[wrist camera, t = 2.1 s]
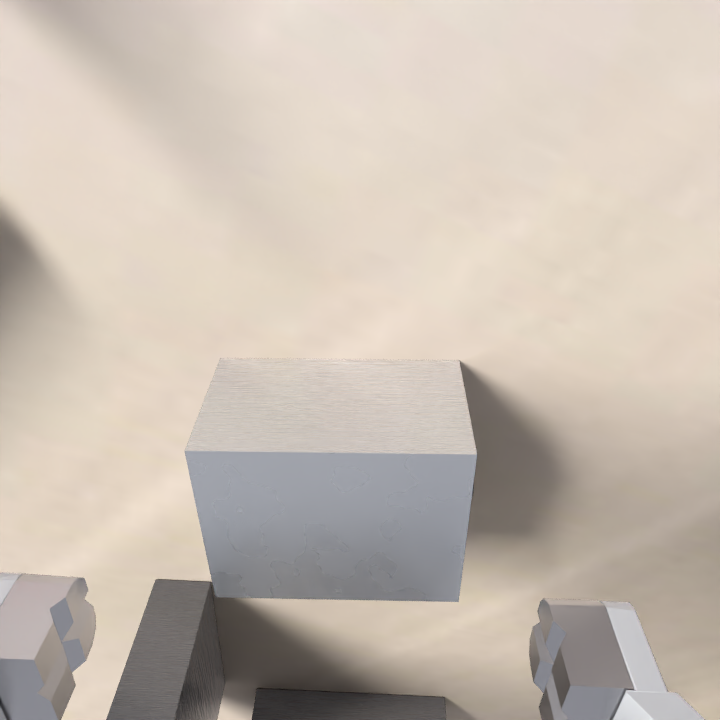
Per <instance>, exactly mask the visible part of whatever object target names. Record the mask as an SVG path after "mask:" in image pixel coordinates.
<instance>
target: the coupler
mask: <svg viewBox="0 0 720 720" xmlns="http://www.w3.org/2000/svg"><path fill="white" fill-rule="evenodd" d="M224 685H225V679H224V672H223V665H222V658H221V652H220V645H219V638H218V631H217V624H216V617H215V610H214V603H213V597H212V590H211V583H210V582H199V581H178V580H155V583H154V586H153V589H152V591H151V594H150V597H149V600H148V603H147V606H146V609H145V611H144V614H143V617H142V620H141V623H140V626H139V628H138V631H137V634H136V637H135V640H134V643H133V645H132V648H131V651H130V654H129V657H128V660H127V662H126V665H125V668H124V671H123V674H122V677H121V679H120V682H119V685H118V688H117V691H116V694H115V697H114V699H113V702H112V705H111V708H110V711H109V714H108V716H107V719H106V720H217V719H218V714H219V709H220V704H221V700H222V695H223V690H224ZM252 720H446V711H445V699H444V697H427V696H405V695H384V694H363V693H342V692H320V691H299V690H278V689H257V691H256V697H255V703H254V709H253V715H252Z"/></svg>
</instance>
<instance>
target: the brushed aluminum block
mask: <svg viewBox="0 0 720 720" xmlns="http://www.w3.org/2000/svg"><path fill="white" fill-rule="evenodd" d="M185 455H186V460H187V465H188V469H189V474H190V479H191V484H192V488H193V493H194V498H195V503H196V507H197V512H198V517H199V522H200V526H201V531H202V536H203V541H204V545H205V550H206V555H207V560H208V564H209V569H210V574H211V579H212V583H213V588H214V593H215V597H228V598H282V599H335V600H389V601H443V602H459V594H460V586H461V578H462V570H463V563H464V555H465V547H466V539H467V531H468V523H469V515H470V507H471V499H472V496H473V489H474V476H475V468H476V460H477V451H476V446H475V441H474V435H473V430H472V425H471V419H470V414H469V409H468V404H467V398H466V393H465V388H464V383H463V377H462V372H461V367H460V361H459V360H387V359H278V358H220V360H219V363H218V365H217V368H216V370H215V373H214V376H213V378H212V381H211V383H210V386H209V389H208V391H207V394H206V396H205V399H204V402H203V404H202V407H201V409H200V412H199V415H198V417H197V420H196V422H195V425H194V428H193V430H192V433H191V435H190V438H189V441H188V443H187V446H186V448H185Z"/></svg>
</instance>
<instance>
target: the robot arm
mask: <svg viewBox="0 0 720 720" xmlns="http://www.w3.org/2000/svg"><path fill="white" fill-rule="evenodd" d="M87 592H88V587H87V584H86V582H85V579H84V578H80V577H66V576H51V575H37V574H24V573H5V572H0V720H61V718H62V716H63V714H64V711H65V709H66V707H67V704H68V702H69V700H70V697H71V695H72V693H73V690H74V688H75V686H76V684H75V681H74V678H73V674H72V672H73V671H74V670H75V669H77V668H78V667H79V666H80V665H81V664H83V663H84V662H85V661H86V659H87V657H88V654H89V652H90V649H91V647H92V644H93V639H94V635H95V630H96V615H95V611H94V607H93V606H92V605H91V604H90V603H89V602H87V601H86V600H85V596H86V594H87ZM538 616H539V620H540V622H539V623H538V624H536V625H535V626H533V628H532V632H531V636H530V648H529V657H530V666H531V671H532V676H533V682H534V683H535V684H536V685H537V686H538V687H539V688H540V690H541V691H542V692H543V696H542V699H541V703H540V706H539V710H540V714H541V719H542V720H705V719H704V718H703V717H702V716H701V715H700V714H699V713H698V712H697V711H696V710H695V709H694V708H692V707H691V706H690V705H689V704H688V703H687V702H686V701H685V700H684V699H683V698H682V697H681V696H680V695H679V694H678V693H676V692H668V690H667V688H666V685H665V683H664V680H663V678H662V675H661V673H660V670H659V668H658V665H657V663H656V660H655V658H654V655H653V653H652V651H651V648H650V646H649V643H648V641H647V638H646V636H645V633H644V631H643V628H642V626H641V623H640V621H639V618H638V616H637V613H636V611H635V608H634V607H633V606H632V605H631V604H630V603H629V602H614V601H598V600H581V599H549V598H544V599H543V600H542V601H541V602H540V605H539V608H538Z"/></svg>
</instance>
